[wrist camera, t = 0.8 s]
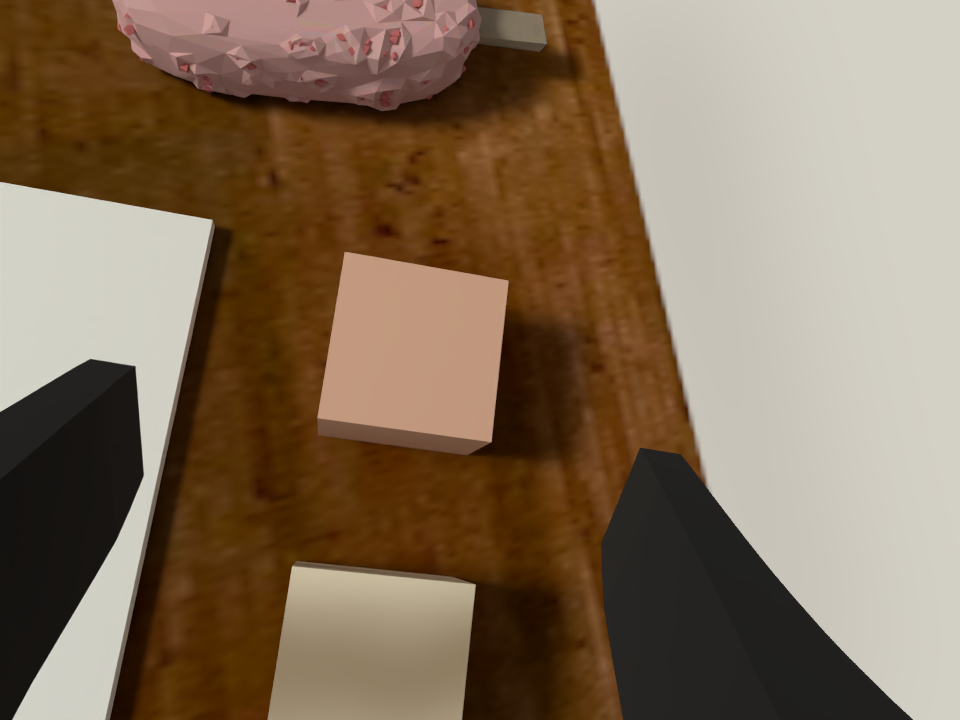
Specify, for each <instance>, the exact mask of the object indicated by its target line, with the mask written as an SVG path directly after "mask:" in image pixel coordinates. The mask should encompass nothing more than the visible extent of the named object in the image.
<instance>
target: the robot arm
mask: <svg viewBox="0 0 960 720" xmlns="http://www.w3.org/2000/svg"><path fill="white" fill-rule="evenodd" d="M143 477H144V469H143V456H142V443H141V430H140V417H139V404H138V391H137V378H136V366H132V365H125V364H119V363H113V362H107V361H101V360H95V359H89V360H87V361H85V362H84V363H82V364H80V365H78V366H76V367H75V368H73V369H71V370H69V371H68V372H66V373H64V374H63V375H61V376H59V377H58V378H56V379H54V380H53V381H51V382H49V383H48V384H46V385H44V386H43V387H41V388H39V389H38V390H36V391H34V392H33V393H31V394H29V395H28V396H26V397H24V398H23V399H21V400H19V401H18V402H16V403H14V404H13V405H11V406H9V407H8V408H6V409H4V410H2V411H1V412H0V720H13V718H14V716H15V714H16V712H17V710H18V708H19V706H20V705H21V703H22V701H23V699H24V697H25V695H26V693H27V692H28V690H29V688H30V686H31V684H32V683H33V681H34V679H35V677H36V676H37V674H38V672H39V671H40V669H41V667H42V666H43V664H44V662H45V661H46V659H47V657H48V656H49V654H50V652H51V651H52V649H53V647H54V646H55V644H56V642H57V640H58V639H59V637H60V635H61V634H62V632H63V630H64V629H65V627H66V625H67V624H68V622H69V620H70V619H71V617H72V615H73V614H74V612H75V610H76V609H77V607H78V605H79V604H80V602H81V600H82V598H83V597H84V595H85V593H86V592H87V590H88V588H89V587H90V585H91V583H92V582H93V580H94V578H95V576H96V575H97V573H98V571H99V570H100V568H101V566H102V564H103V563H104V561H105V559H106V558H107V556H108V554H109V552H110V551H111V549H112V547H113V545H114V544H115V542H116V540H117V538H118V536H119V534H120V531H121V529H122V527H123V525H124V522H125V520H126V518H127V516H128V513H129V511H130V509H131V506H132V504H133V501H134V499H135V496H136V494H137V492H138V489H139V487H140V484H141V482H142V479H143ZM601 550H602V580H603V597H604V610H605V617H606V623H607V629H608V635H609V641H610V647H611V653H612V659H613V664H614V670H615V676H616V681H617V687H618V692H619V698H620V704H621V709H622V715H623V720H913V719H912V718H911V717H910V716H908V715H907V714H906V713H905V712H904V711H903V710H902V709H901V708H900V707H899V706H898V705H897V704H895V703H894V702H893V701H892V700H891V699H890V698H889V697H888V696H887V695H886V694H885V693H884V692H883V691H882V690H881V689H880V688H879V687H878V686H877V685H876V684H875V683H874V682H873V681H872V680H871V679H870V678H869V677H868V676H867V675H866V674H865V673H864V672H863V671H862V670H861V669H860V668H859V667H858V666H857V665H856V664H855V663H854V662H853V661H852V660H851V659H850V658H849V657H848V656H847V655H846V654H845V653H844V652H843V651H842V650H841V649H840V648H839V647H838V646H837V645H836V644H835V643H834V641H832V639H831V638H830V637H829V636H828V635H827V634H826V633H825V632H824V631H823V630H822V628H821V627H820V626H819V625H818V624H817V623H816V622H815V621H814V620H813V618H812V617H811V616H810V615H809V614H808V613H807V612H806V611H805V609H804V608H803V607H802V606H801V605H800V604H799V603H798V602H797V600H796V599H795V598H794V597H793V596H792V595H791V594H790V592H789V591H788V590H787V589H786V588H785V586H784V585H783V584H782V583H781V582H780V581H779V579H778V578H777V577H776V576H775V575H774V573H773V572H772V571H771V570H770V568H769V567H768V566H767V565H766V564H765V562H764V561H763V560H762V559H761V557H759V555H758V554H757V553H756V551H755V550H754V549H753V547H752V546H751V545H750V544H749V542H748V541H747V540H746V539H745V537H744V536H743V535H742V533H741V532H740V531H739V530H738V528H737V527H736V526H735V524H734V523H733V522H732V521H731V519H730V518H729V517H728V515H727V514H726V513H725V511H724V510H723V509H722V507H721V506H720V505H719V503H718V502H717V501H716V500H715V498H714V497H713V496H712V494H711V493H710V492H709V490H708V489H707V488H706V486H705V485H704V484H703V482H702V481H701V480H700V478H699V477H698V476H697V475H696V473H695V472H694V471H693V469H692V468H691V467H690V466H689V464H688V463H687V462H686V461H685V459H684V458H683V457H682V456H681V454H675V453H669V452H663V451H657V450H651V449H645V448H640V450H639V452H638V455H637V457H636V460H635V462H634V464H633V467H632V469H631V472H630V474H629V477H628V479H627V482H626V484H625V487H624V489H623V492H622V494H621V496H620V499H619V501H618V504H617V506H616V509H615V511H614V514H613V516H612V519H611V521H610V524H609V526H608V529H607V531H606V533H605V536H604V538H603V541H602V543H601Z"/></svg>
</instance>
